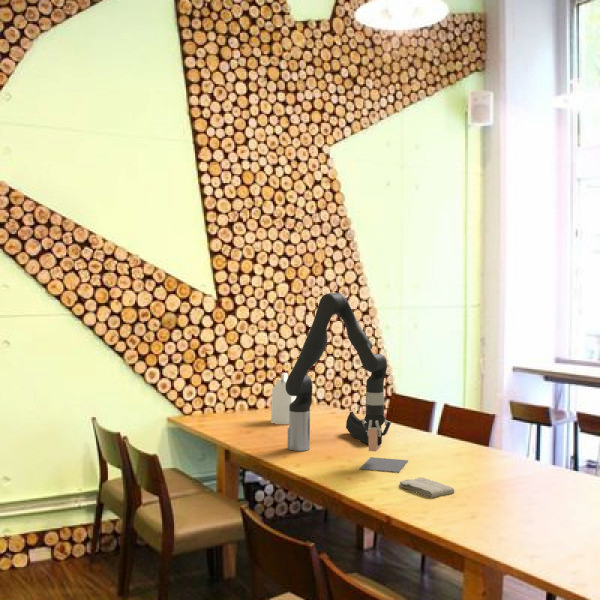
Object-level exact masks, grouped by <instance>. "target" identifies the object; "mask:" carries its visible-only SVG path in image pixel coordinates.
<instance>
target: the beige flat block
mask: <svg viewBox="0 0 600 600" xmlns="http://www.w3.org/2000/svg"><path fill="white" fill-rule="evenodd" d="M377 429H378V428H377V427H370V428H369V444H368V452H377V451H378V450H379V449H380V448H381V447H382V444H380V446H378V431H377Z"/></svg>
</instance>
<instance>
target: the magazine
mask: <svg viewBox="0 0 600 600" xmlns="http://www.w3.org/2000/svg"><path fill="white" fill-rule="evenodd" d="M359 420H361V419H360V418H359V417H358V416H356V414H355V413H354V411H350V412H349V414H348V415H347V419H346V424H345V429H346V430H347V432H348V433H349V434H350V435H351V436H352V437H353V438H354V437H355V438H356V440H357V439H358V440H357V441H359V440H360V441H359V442H362V443H365V444H368V436H367V435H366V434H363V432H362V429H361V427H360V424H359ZM364 425H365V427H366V429H367V431H368V424H367V423H366V421H365V424H364ZM355 438H354V439H355Z"/></svg>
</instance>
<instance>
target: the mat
mask: <svg viewBox="0 0 600 600" xmlns="http://www.w3.org/2000/svg"><path fill="white" fill-rule="evenodd" d="M408 462H409V459H398V458H397V459H396V458H386V457H384V458H383V457H382V458H381V457H374V456H371V457H369V458H368V459H367V460H366V461H365V462H364V463H363V464H362V465H361V466H360V467H358V469H359V470H361V469H364V470H363V471H372V470H378V471H377V472H384V471H390V472H389V473H395V472H398V473H397V474H400V472H401V471H402V470H403V468H404V467H405V466H406V465H407V463H408ZM405 464H406V465H405ZM401 469H402V470H401ZM400 470H401V471H400Z"/></svg>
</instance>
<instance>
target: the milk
mask: <svg viewBox="0 0 600 600" xmlns="http://www.w3.org/2000/svg"><path fill="white" fill-rule="evenodd" d="M288 376H289V373H288V372H284V373H281V378H280V379H278V380H277V382H276V384H275V385H274V386H273V388H272V391H271V411H270V412H271V413H270V414H271V416H270V424H271V423H275V424H274V425H286V424H289V405H290V404H291V403H292V402H293V401H294V400H295V399H296V396H290V395H289V394H288V393H287V392H286V387H285V386H286V381H287V378H288Z"/></svg>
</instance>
